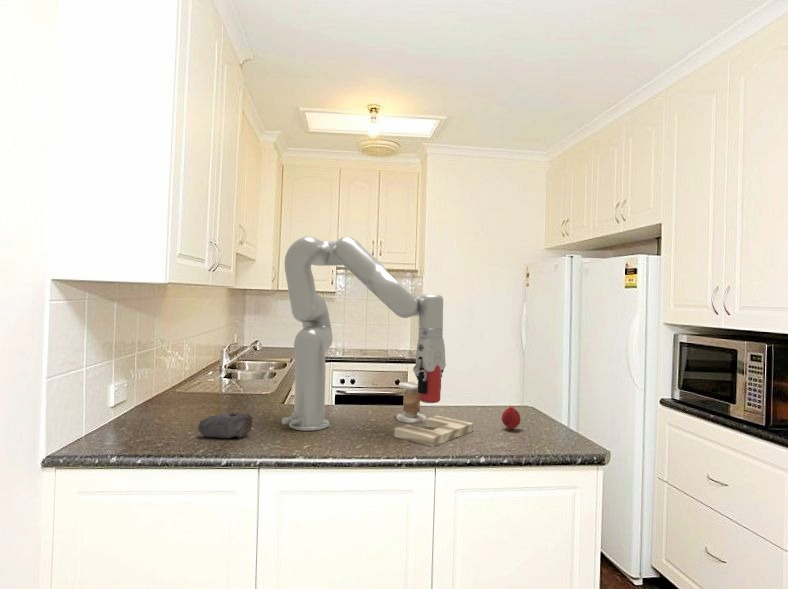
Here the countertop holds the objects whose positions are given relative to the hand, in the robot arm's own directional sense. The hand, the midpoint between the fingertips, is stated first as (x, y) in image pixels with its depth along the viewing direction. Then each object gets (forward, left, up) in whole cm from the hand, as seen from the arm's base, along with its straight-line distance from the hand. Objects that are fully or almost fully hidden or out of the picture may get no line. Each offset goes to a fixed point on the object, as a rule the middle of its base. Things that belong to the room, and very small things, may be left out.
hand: (429, 391), depth 150 cm
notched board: (0, -2, -13) cm, 13 cm away
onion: (+21, -17, -13) cm, 30 cm away
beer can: (0, 0, -3) cm, 3 cm away
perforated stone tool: (-46, +40, -13) cm, 62 cm away
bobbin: (+9, +14, -13) cm, 21 cm away
